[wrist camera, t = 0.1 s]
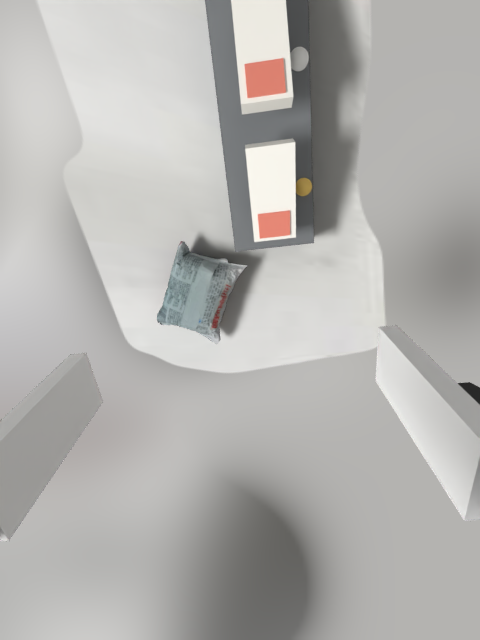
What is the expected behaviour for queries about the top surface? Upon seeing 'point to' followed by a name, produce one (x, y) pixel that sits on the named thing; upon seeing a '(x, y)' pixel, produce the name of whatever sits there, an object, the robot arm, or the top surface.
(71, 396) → the robot arm
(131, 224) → the top surface
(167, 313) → the packaged food
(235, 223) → the rocker switch box
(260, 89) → the rocker white
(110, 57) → the top surface
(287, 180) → the white switch paddle
